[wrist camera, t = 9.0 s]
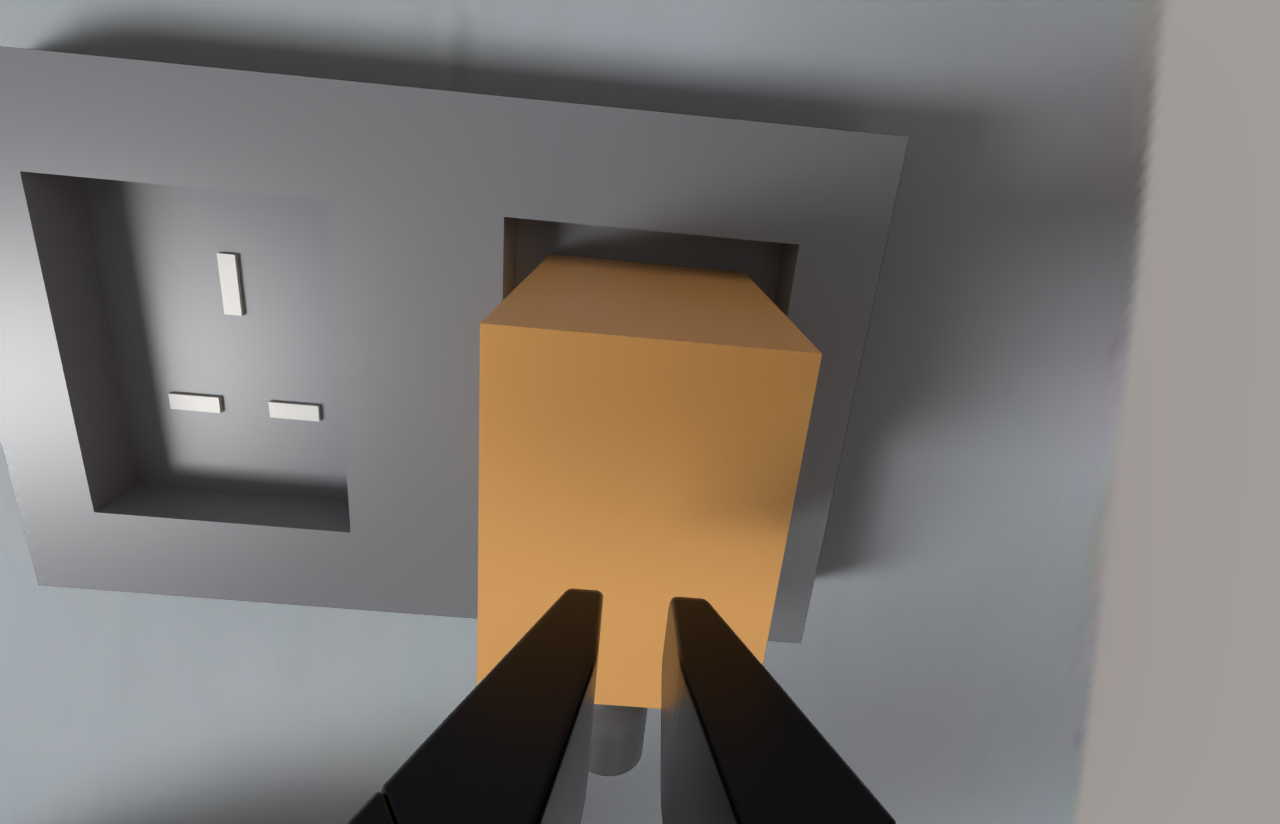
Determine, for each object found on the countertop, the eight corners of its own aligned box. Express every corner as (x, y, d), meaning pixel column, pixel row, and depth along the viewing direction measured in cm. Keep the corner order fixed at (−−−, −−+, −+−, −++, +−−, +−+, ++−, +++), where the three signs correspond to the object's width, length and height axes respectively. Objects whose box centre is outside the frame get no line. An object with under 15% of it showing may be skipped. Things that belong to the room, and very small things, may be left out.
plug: (535, 590, 18) (475, 831, 12) (550, 254, 15) (480, 322, 8) (696, 602, 18) (727, 848, 12) (743, 271, 15) (822, 353, 9)
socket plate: (113, 532, 19) (38, 585, 16) (14, 56, 15) (-105, 35, 12) (781, 585, 19) (800, 643, 17) (867, 140, 15) (908, 136, 13)
